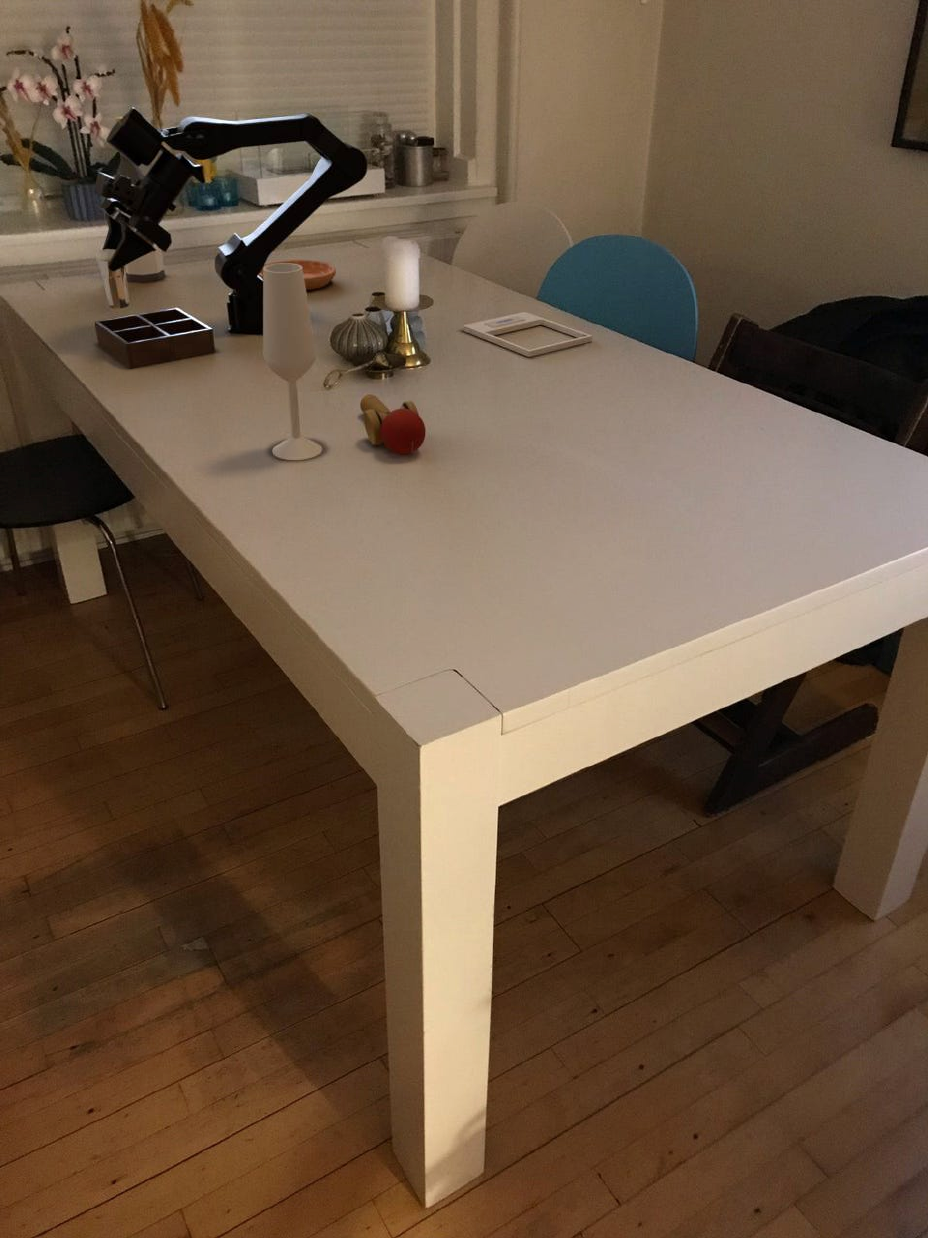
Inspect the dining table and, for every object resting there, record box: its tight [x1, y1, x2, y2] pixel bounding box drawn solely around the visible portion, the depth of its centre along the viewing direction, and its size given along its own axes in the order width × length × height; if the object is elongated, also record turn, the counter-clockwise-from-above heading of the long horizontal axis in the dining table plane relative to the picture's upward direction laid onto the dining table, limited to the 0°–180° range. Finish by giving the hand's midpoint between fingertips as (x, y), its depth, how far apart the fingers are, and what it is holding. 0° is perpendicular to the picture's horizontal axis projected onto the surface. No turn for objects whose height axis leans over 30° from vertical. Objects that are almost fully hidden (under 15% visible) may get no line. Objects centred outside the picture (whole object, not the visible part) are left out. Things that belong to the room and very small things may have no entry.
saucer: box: [259, 259, 337, 291], centre depth 210 cm, size 16×16×3 cm
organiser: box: [94, 307, 216, 369], centre depth 174 cm, size 15×15×4 cm
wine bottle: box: [114, 116, 166, 284], centre depth 206 cm, size 8×8×30 cm
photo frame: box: [462, 311, 593, 358], centre depth 183 cm, size 15×1×18 cm
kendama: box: [359, 393, 427, 455], centre depth 143 cm, size 8×6×18 cm
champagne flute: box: [262, 263, 323, 461], centre depth 133 cm, size 7×7×24 cm
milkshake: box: [95, 249, 130, 310], centre depth 170 cm, size 4×5×10 cm
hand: (105, 266), depth 169 cm, fingers closed on milkshake, 4 cm apart
